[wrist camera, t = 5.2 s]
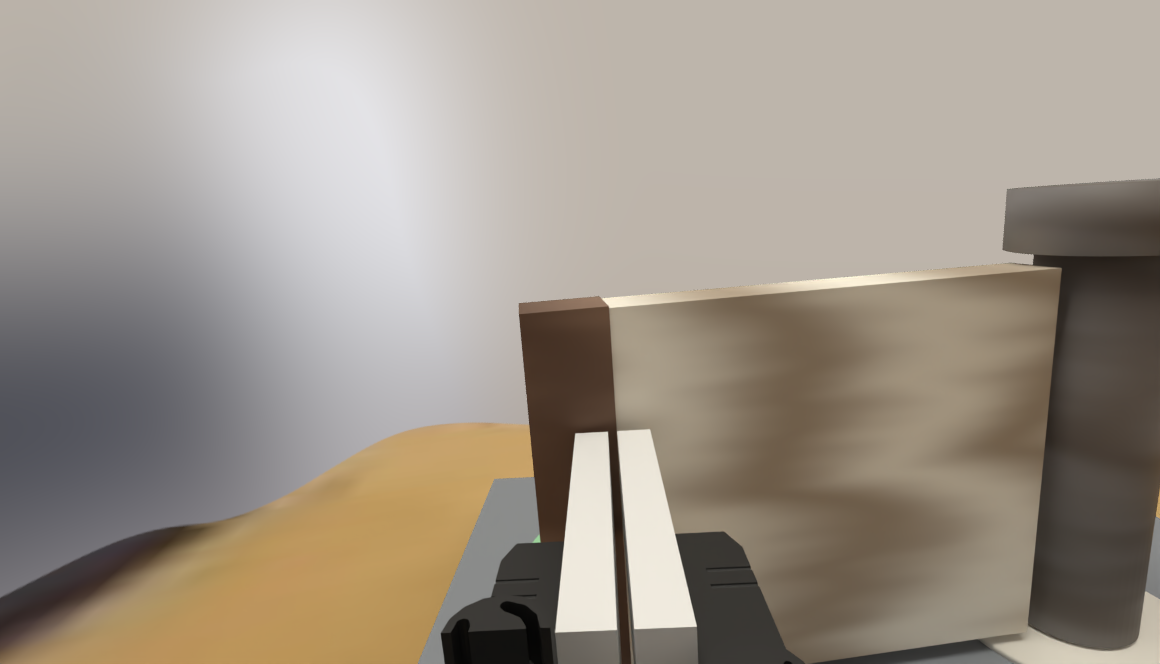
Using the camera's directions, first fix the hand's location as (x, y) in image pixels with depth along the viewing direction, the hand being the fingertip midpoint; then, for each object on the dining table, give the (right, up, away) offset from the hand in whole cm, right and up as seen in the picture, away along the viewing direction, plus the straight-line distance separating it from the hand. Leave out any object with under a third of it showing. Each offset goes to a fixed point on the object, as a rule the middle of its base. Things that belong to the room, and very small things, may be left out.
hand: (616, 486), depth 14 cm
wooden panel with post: (+7, -5, +3) cm, 9 cm away
